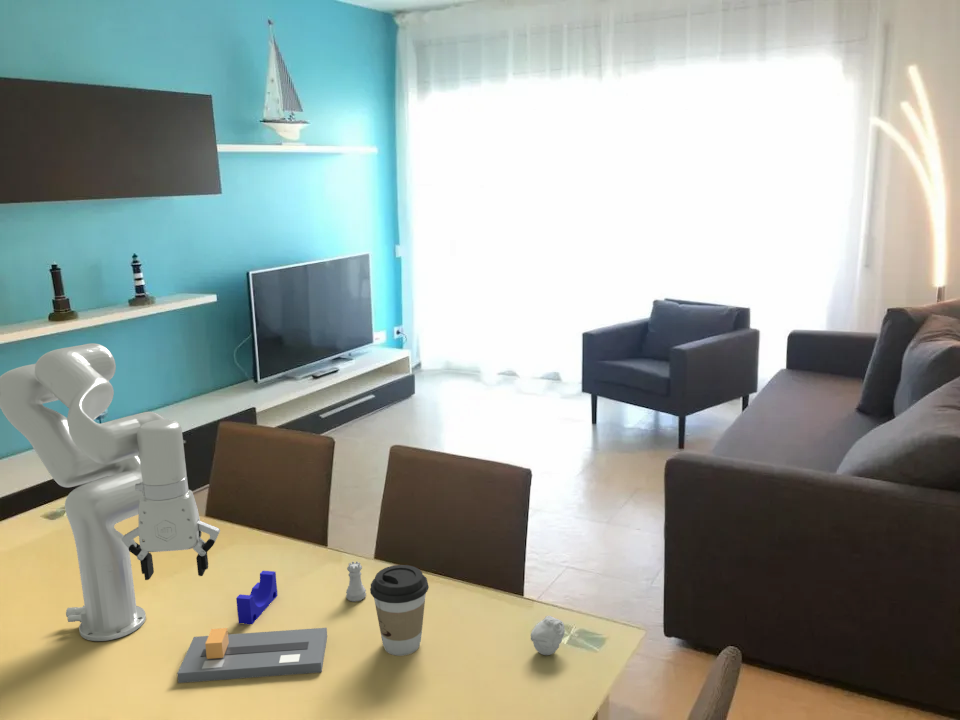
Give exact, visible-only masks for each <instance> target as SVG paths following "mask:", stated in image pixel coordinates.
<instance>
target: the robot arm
mask: <svg viewBox="0 0 960 720" xmlns="http://www.w3.org/2000/svg"><path fill="white" fill-rule="evenodd" d="M37 359H38V360H37V361H36V362H35V363H32V364H31V363H30V364H26V365H23V366H18V367H16V368H13V369H10V370H8V371H6V372H4V373H3V374H1V375H0V410H1V412H2V413H3V415H4V416H5V418H6V419H7V420H8V422H9V423H10V424H11V425H12V426H13V428H15V429H16V430H17V431H18V432H19V433H21V434H22V436H23V437H25V439H26V440H28V442H29V443H30V445H31V446H32V449H33V450H34V451H35V453H36V454H37V456H38V458H39V459H40V460H41V463H42V464H43V466H44V467H45V468H46V470H47V471H48V474H49V475H50V476H51V478H52V479H53V481H55V482H56V483H57V484H58V485H59V486H60V487H63V488H72V487H75V489H73V490H72V491H71V492H69V493H68V495H67V496H66V498H65V501H64V509H65V514H66V517H67V520H68V523H69V525H70V527H71V531H72V535H73V540H74V543H75V548H76V554H77V555H76V556H77V561H78V568H79V575H80V582H81V590H82V596H83V604H84V605H82V606H81V607H75V606H72V607H67V608H66V611H65V616H66V617H67V623H71V622H72V623H73V622H74V623H76V622H79V623H80V624H79V628H78V630H79V635H80V636H81V638H83V639H84V640H88V641H92V642H107V641H113V640H117V639H119V638H123V637H125V636H127V635H130V634H132V633H133V632H135V631H137V630H138V629H139V628H140V627H141V626H143V625H144V623H145V622H146V617H147V615H146V611H145V609H144V608H142V607H141V606H138V605H137V601H136V593H135V585H134V577H133V568H132V560H131V553H132V555H134V556H136V559H137V560H138V561H140V563H139V564H140V568H141V575H144V581H149V580H151V578H152V577H153V575H154V572H155V571H154V570H155V569H154V562H153V561H154V560H153V555H152V553H158V552H159V553H161V552H174V551H185V550H186V551H187V550H192V549H193V550H194V551H195V552H196V554H197V555H196V566H197V567H196V568H197V575H198V577H203V576H204V574H205V572H206V570H208V569H209V560H208V559H209V558H208V552H209V550H211V548H212V547H214V545H215V543H216V540H217V539H218V537H219V534H220V533H221V529H220V528H218V527H216V526H214V525H212V524H209V523H206V522H204V521H201V519H200V514H199V510H198V506H197V503H196V502H197V501H196V499H195V496H194V495H195V494H194V493H193V491H192V490H191V489H189V484H188V476H187V465H186V458H185V457H186V456H185V447H184V446H185V445H184V437H183V429H182V426H181V424H180V423H179V422H178V421H177V420H174V419H167V418H164V417H163V416H162V415H160V414H158V413H156V412H155V411H144V412H141V413H136V414H131V415H128V416H124V417H119V418H116V419H113V420H108V421H106V422H102V423H98V422H96V421H95V420H96V419H97V418H98V417H100V416H101V415H102V414H103V413H105V411H107V410H108V408H109V407H110V405H112V404H111V403H112V401H113V399H114V393H115V391H114V386H113V385H112V383H111V382H110V380H112V379H113V377H114V376H115V374H116V369H117V366H116V360H115V358H114V355H113V354H112V353H111V351H110V350H109V349H108V348H107V347H105V346H104V345H102V344H99V343H84V344H81V345H74V346H69V347H62V348H57V349H53V350H51V351H47V352H46V353H44V354H43V355H42V356H40V357H39V358H37ZM56 401H59V402H61V403H62V404H63V405H65V406H66V407H67V408H68V411H67V417H66V416H65V415H63V414H61V413H60V412H58V411H56V410H54V409H53V408H50V407H47V406H44V404H47V403H52V402H56ZM135 516H138V527H135V528H134V529H132V530H130V531H129V532H127V533H125V534H122V533H121V532H120V531H119V530H117V529H116V528H115V526H116V525H117V524H118V523H120V522H123V521H125V520H128V519H130V518H133V517H135ZM202 532H203V533H204V534H205V533H206V534H207V535H209V538H208V539H207V541H205V540H203V539H202V538H201V537H202ZM137 537H138V541H139V543H138V542H136V541H135V538H137Z"/></svg>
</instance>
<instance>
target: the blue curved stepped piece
mask: <svg viewBox="0 0 960 720" xmlns="http://www.w3.org/2000/svg"><path fill="white" fill-rule="evenodd" d="M276 573H277V571H275V570H272V571H271V570H262V571H261V572H260V573H259V581H258V582H256V584H255V585H253V587H252V588H251V591H250V594H241V593H240V594H238V595H237V596H236V598H235V599H236V601H235V602H236V609H237V620H238V621H237V623H238V624H240V623H244V624H243V625H250V624H252V625H253V624H254V623H255V622H256V621H257V620H258V618H259V617H260V616H261V615H262V614H263V613H262V612H263V611H264V612H265V611H266V609H268V607H269V606H270V605H271V604H272V603H273V601H275V599H276V598H277V597H278V586H277V574H276ZM270 603H271V604H270ZM269 604H270V605H269ZM256 619H257V620H256ZM255 620H256V621H255Z"/></svg>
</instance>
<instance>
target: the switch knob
mask: <svg viewBox="0 0 960 720" xmlns="http://www.w3.org/2000/svg"><path fill="white" fill-rule="evenodd" d="M228 631H229V630H228V627H223V628H221V627H219V628H211V629H210V632H209V633H208V635H207V636H208V638H207V641H206V643H205V646H206V655H207V659H212V658H223V657H224V654H225V652H226V649H227V646H228V644H229V639H228V634H229V632H228Z"/></svg>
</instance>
